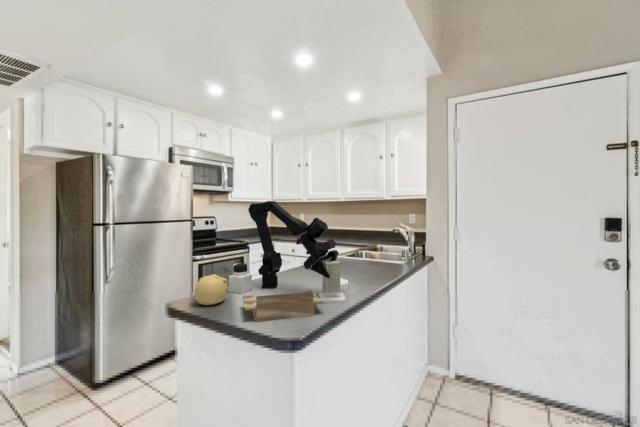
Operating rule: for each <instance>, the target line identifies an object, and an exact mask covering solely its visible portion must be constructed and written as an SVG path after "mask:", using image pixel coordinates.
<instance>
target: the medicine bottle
mask: <svg viewBox="0 0 640 427" xmlns="http://www.w3.org/2000/svg"><path fill="white" fill-rule="evenodd" d="M252 280H253V279H252V273H248V264H247V263H245V262H239V263H234V264H233V265H232V274H231V275H228V292H229V293H235V294H241V295H242V294H245V293H247V292H249V291H252V290H253V289H252V287H253V285H252V284H253V283H252Z"/></svg>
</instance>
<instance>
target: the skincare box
mask: <svg viewBox="0 0 640 427" xmlns="http://www.w3.org/2000/svg"><path fill="white" fill-rule="evenodd" d="M323 265H324V267H325V269H326V270H327V272H328V273H329V275H330V277H329V278H327V277H325V276H323V275H322V281H323V288H322V293H326V294H328V293H341V291H340V278H341V266H342V264H341V262H340V261H338V260H336V261H323Z"/></svg>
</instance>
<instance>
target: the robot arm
mask: <svg viewBox="0 0 640 427" xmlns="http://www.w3.org/2000/svg"><path fill="white" fill-rule="evenodd" d="M248 213H249V216H250V219H252V220H253V222H254V223H255V224H256V228H257V232H258V237H259V240H260V244H261V247H262V250H263V251H262V252H263V254H262V258H261V259H262V260H261V262H262V264H261V266H260V267H259V269H257V270H258V274H259V275H261V283H262V284H261V289H276V288H277V286H278V285H279V282H278V280H279V277H278V274H277V273H280V270H281V267H282V266H283V259H282V257H281V256H282V255H281V253H280V252H277V251H276V250H275V247H274V244H273V240H272V236H271V233H270V228H269V225H268V222H267V220H268V215H269V213H271V214H272V215H274V216H275V217H276V218H277V219H278V220H280V222H282V223H283V224H284V225H285V226H286V229H287V231H288V232H289V233H290V234H291V235H292V236H295V237H296V236H300V237H297V238H296V245H302V246H303V248H304V249H305V250H306V252H305V254H306V255H309V256H308V257H307V258H306V260H305V261H304V262H303V268H304V269H305V270H306V271H307V270H310V271H312V272H315V273H317V274H319V275H321V276H322V277H323V276H325V277H327V278H329V277H330V275H329V273H328V272H327V270H326V269H325V267H324V265H323V261H337V258H338V256H339V255H340V252H339V251H338V250H337V249H335V248H336V243H337V242H336V241H335V240H334V239H333V238H329V239H327V240H326V241H324V242H318V239H320V238H321V237H322V235H324V234H325V233H326V231H327V230H328V229H329V227H328V224H327V223H326V222H325V221H323V220H322V219H320V218H319V217H314V218H313V220H312V221H311V223H309V224H308V223H307V222H305V221H303V220H302V219H299V218H296V217H294V216H293V215H291V213H289V212H288V211H287V210H285V209H284V208H283V207H281V205H279V204H278V203H277V201H275V200H267V201H264V202H259V203H251V204H250V205H249V207H248Z"/></svg>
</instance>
